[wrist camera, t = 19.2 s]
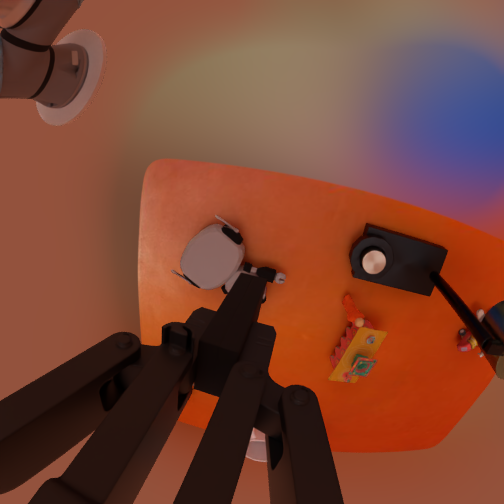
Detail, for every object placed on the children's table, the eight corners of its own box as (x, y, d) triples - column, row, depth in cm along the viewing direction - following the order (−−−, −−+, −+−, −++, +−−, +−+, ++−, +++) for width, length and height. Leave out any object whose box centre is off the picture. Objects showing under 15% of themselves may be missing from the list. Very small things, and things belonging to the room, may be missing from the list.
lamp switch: (357, 266, 40) (359, 270, 38) (364, 244, 39) (366, 247, 37) (378, 271, 39) (381, 276, 38) (386, 250, 38) (389, 254, 37)
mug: (294, 424, 57) (289, 460, 48) (258, 428, 60) (249, 462, 50) (278, 394, 55) (271, 431, 45) (239, 399, 57) (227, 435, 48)
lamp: (420, 295, 39) (468, 377, 21) (437, 252, 36) (504, 317, 18) (466, 307, 37) (520, 380, 20) (483, 267, 35) (550, 328, 17)
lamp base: (341, 269, 44) (343, 279, 40) (355, 220, 41) (360, 226, 38) (425, 290, 42) (433, 301, 38) (442, 246, 39) (452, 254, 36)
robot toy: (292, 268, 47) (219, 206, 44) (291, 281, 42) (211, 213, 40) (243, 314, 51) (176, 259, 49) (238, 329, 47) (166, 270, 45)
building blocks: (263, 426, 55) (267, 480, 42) (337, 291, 44) (371, 349, 30) (314, 430, 57) (325, 480, 43) (397, 307, 45) (438, 358, 32)
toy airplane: (450, 341, 44) (461, 362, 38) (471, 300, 41) (486, 318, 35) (480, 347, 43) (492, 366, 37) (501, 309, 40) (516, 325, 34)
